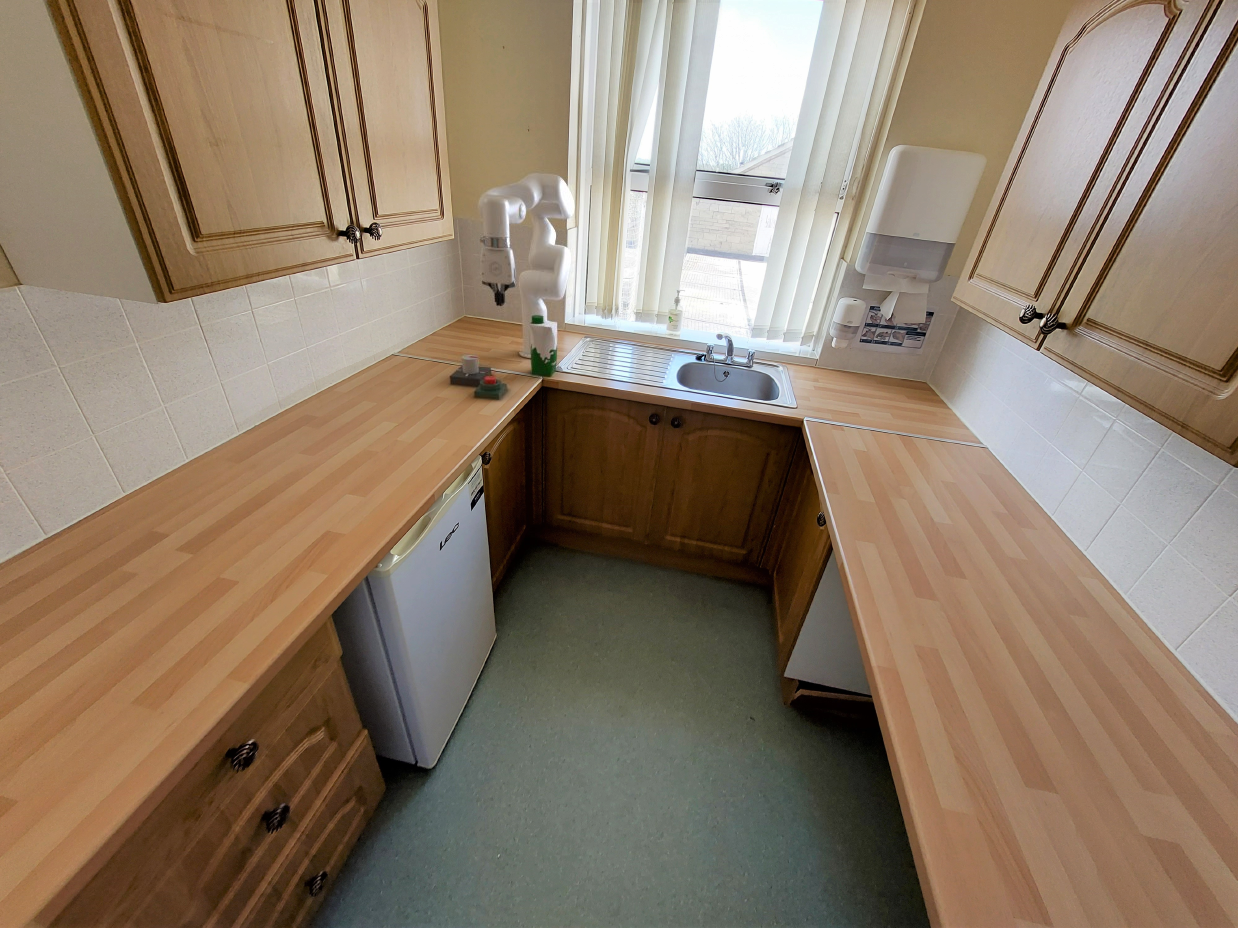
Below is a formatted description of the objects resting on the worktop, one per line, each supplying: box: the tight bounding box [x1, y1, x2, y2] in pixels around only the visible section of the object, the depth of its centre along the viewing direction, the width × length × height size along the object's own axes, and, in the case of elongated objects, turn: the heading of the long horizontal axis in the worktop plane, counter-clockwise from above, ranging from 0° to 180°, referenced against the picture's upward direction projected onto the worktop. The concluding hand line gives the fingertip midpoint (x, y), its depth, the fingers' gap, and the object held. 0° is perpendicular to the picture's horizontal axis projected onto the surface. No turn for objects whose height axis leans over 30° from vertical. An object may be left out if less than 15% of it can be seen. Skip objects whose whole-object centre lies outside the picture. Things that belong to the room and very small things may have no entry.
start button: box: [484, 375, 497, 384], centre depth 154 cm, size 4×4×2 cm
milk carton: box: [529, 315, 558, 378], centre depth 171 cm, size 9×9×20 cm
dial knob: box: [461, 354, 480, 374], centre depth 162 cm, size 5×5×5 cm
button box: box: [473, 378, 508, 401], centre depth 155 cm, size 9×8×4 cm
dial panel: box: [449, 365, 492, 388], centre depth 164 cm, size 12×10×3 cm
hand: (500, 305), depth 156 cm, fingers closed
